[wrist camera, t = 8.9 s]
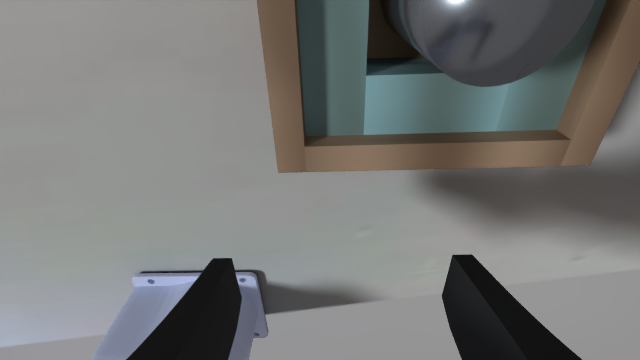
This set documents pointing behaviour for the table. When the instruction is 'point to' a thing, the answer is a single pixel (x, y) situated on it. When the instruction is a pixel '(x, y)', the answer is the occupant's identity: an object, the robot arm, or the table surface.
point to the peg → (487, 34)
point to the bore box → (433, 94)
